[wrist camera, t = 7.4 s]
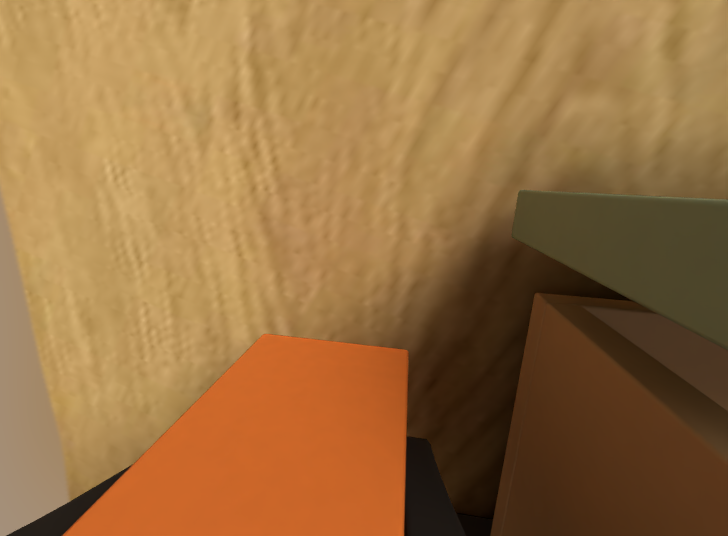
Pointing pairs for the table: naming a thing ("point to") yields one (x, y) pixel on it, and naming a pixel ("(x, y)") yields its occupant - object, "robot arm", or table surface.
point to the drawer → (622, 372)
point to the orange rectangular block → (275, 451)
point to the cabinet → (475, 525)
